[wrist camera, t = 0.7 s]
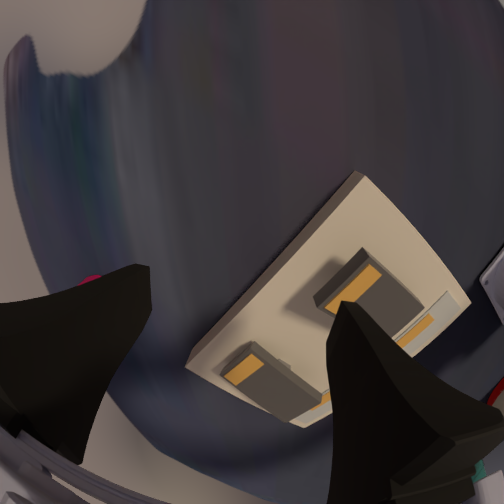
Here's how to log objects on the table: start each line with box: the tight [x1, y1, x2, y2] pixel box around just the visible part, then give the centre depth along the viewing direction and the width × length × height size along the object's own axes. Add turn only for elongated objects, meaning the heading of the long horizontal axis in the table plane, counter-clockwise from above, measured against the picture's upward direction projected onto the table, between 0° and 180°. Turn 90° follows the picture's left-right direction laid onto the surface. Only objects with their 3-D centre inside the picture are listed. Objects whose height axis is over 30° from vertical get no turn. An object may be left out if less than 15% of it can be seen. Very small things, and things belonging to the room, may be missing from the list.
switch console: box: [185, 171, 471, 428], centre depth 20 cm, size 14×20×3 cm
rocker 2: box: [313, 247, 425, 338], centre depth 16 cm, size 7×4×1 cm, turn 53°
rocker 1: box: [219, 341, 322, 423], centre depth 19 cm, size 7×4×1 cm, turn 52°
